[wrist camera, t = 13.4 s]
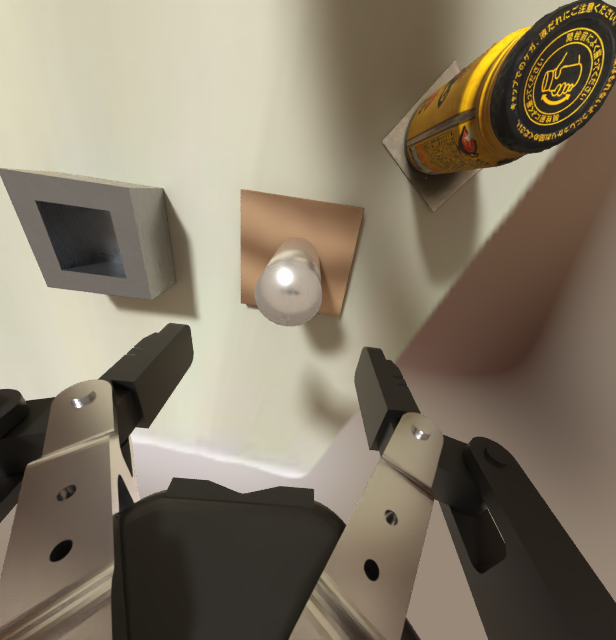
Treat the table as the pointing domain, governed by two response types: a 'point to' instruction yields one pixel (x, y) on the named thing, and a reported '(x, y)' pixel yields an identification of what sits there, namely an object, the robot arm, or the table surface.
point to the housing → (94, 232)
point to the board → (298, 222)
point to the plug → (290, 284)
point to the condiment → (509, 100)
